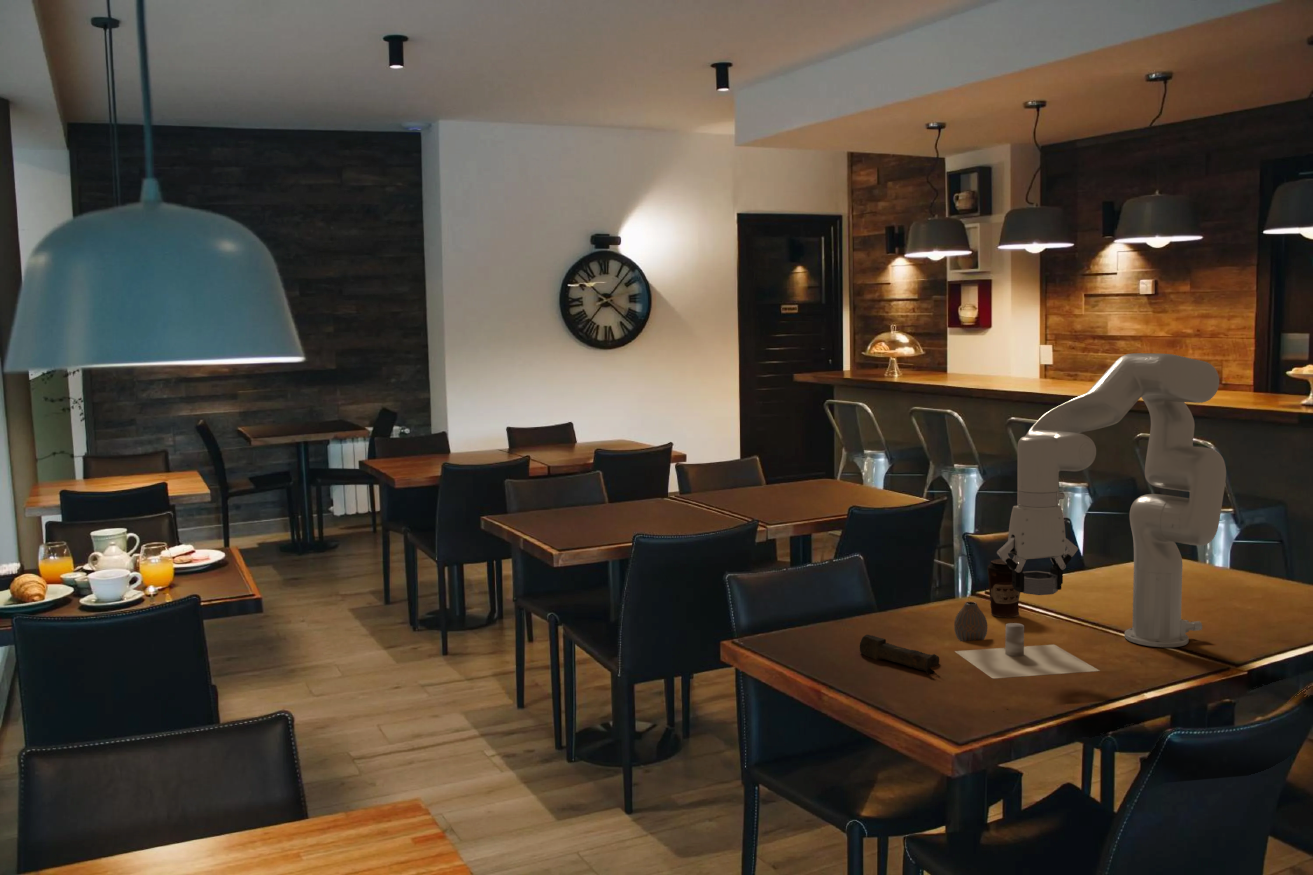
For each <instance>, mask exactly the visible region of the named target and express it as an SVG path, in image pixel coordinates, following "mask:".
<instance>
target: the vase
mask: <svg viewBox="0 0 1313 875" xmlns="http://www.w3.org/2000/svg"><path fill="white" fill-rule="evenodd" d="M953 629H954V633H955V635H956V638H957V639H958V641H959V642H971V641H983V640H984V641H985V639H986V636H987V634H988V622H987V618H986V615H985V614H984V613H983V611H982V610H981V609H980V608H979V606H978V603H977V602H975V601H966V602H965V603H964V605H963V606H962V608H961V609H960V610H959V611H958V612H957V614H956V616H955V619H954V628H953Z"/></svg>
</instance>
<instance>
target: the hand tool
mask: <svg viewBox="0 0 1313 875" xmlns="http://www.w3.org/2000/svg"><path fill="white" fill-rule="evenodd" d="M859 653H861V655H863V656H866V657H867V658H870V659H873V660H876V661H881V660H885V661H889V662H893V663H897V664H901V665H904V666H906V667H909V668H914V669H916V670H919V671H924V672H926V674H927V675H928V676H929V675H932V674H935V673H936V671H934V670H933V669H932V667H933V668H934V667H937V666H938V665H939V663H940V657H939V655H937V654H935V653H932V654H930V653H929V654H928V653H925V652H922V651H919V650H915V649H909V648H906V647H902V646H897V645H896V644H895V645H894V644H892V643H889V642H887V640H886V639H885V638H884V637H883V638H882V637H879V636H875V635H871V634H865V635H864V636H862V638H861V639H860V643H859Z"/></svg>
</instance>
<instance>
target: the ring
mask: <svg viewBox="0 0 1313 875" xmlns="http://www.w3.org/2000/svg"><path fill="white" fill-rule="evenodd" d="M1023 572H1024V592H1021V593H1023V594H1025V595H1035V596H1047V595H1048V596H1049V595H1054V594H1056V593H1057V592H1058V591H1059V590H1058V576H1057V575H1055V574H1052V573H1050V571H1041V570H1030V571H1029V570H1028V571H1023Z"/></svg>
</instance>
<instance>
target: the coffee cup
mask: <svg viewBox="0 0 1313 875" xmlns="http://www.w3.org/2000/svg"><path fill="white" fill-rule="evenodd" d="M986 570H987V576H988V578H987V579H988V588H989V589H988V592H989V593H988V594H989V601H990V602H989V603H990V609H991V610H990V611H991V612H990V613H991V615H992V617H993V616H994V617H998V618H1015V617H1016V618H1017V617H1019V616H1020V613H1019V612H1020V611H1019V609H1020V608H1019V604H1020V602H1019V600H1020V597H1021V593H1020V592H1018V591H1016V590H1014V587H1013V586H1012V570H1011V569H1010V568H1009V566H1007V565H1006V564H1005V563H1004V561H1003V560H1002V559H1001V558H998V559H993V560H990V563H989V564H988V565H987V567H986ZM1024 570H1025V567H1024V566H1023V568H1022V572H1024Z"/></svg>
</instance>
